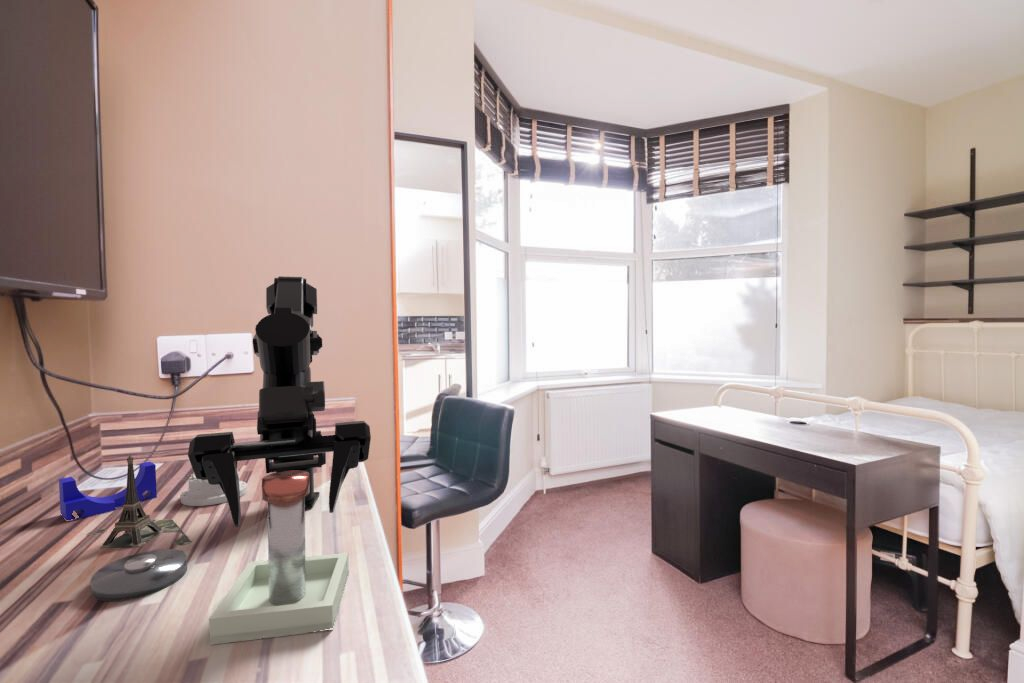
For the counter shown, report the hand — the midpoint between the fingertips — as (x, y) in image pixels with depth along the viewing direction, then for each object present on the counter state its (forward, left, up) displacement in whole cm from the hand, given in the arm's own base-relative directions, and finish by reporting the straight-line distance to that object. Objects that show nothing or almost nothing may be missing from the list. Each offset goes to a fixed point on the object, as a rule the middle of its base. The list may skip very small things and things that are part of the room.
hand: (285, 518), depth 52 cm
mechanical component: (-38, -21, -10) cm, 44 cm away
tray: (0, 0, -9) cm, 9 cm away
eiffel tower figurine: (-21, -25, -10) cm, 35 cm away
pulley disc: (-9, -18, -9) cm, 22 cm away
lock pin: (0, 0, -9) cm, 9 cm away
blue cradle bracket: (-36, -36, -10) cm, 52 cm away
